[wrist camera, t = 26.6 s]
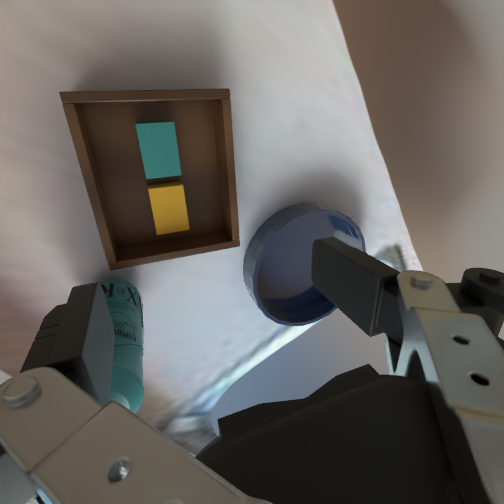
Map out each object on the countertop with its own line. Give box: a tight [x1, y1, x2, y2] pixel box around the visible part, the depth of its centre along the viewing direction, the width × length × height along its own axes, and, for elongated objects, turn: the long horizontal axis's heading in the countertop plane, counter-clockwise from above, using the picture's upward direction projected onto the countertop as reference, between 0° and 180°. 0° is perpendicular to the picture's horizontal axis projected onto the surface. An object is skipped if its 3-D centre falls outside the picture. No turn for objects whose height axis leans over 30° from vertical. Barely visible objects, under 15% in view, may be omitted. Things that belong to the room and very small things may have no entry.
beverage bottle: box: [98, 278, 145, 414], centre depth 26 cm, size 6×7×20 cm
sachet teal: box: [135, 121, 182, 179], centre depth 29 cm, size 5×4×2 cm
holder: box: [59, 89, 240, 270], centre depth 30 cm, size 16×14×5 cm
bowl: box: [243, 203, 366, 326], centre depth 41 cm, size 17×17×4 cm
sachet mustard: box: [147, 181, 189, 235], centre depth 32 cm, size 5×4×2 cm
